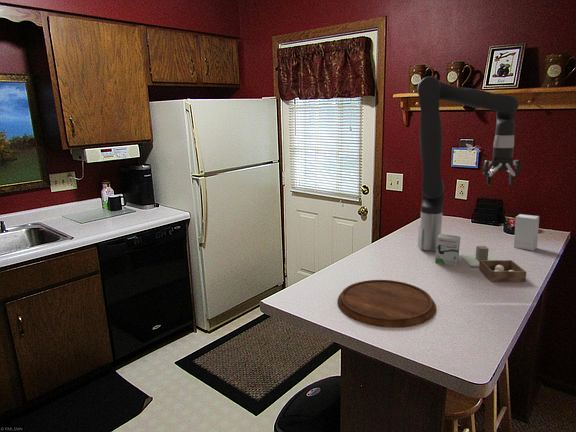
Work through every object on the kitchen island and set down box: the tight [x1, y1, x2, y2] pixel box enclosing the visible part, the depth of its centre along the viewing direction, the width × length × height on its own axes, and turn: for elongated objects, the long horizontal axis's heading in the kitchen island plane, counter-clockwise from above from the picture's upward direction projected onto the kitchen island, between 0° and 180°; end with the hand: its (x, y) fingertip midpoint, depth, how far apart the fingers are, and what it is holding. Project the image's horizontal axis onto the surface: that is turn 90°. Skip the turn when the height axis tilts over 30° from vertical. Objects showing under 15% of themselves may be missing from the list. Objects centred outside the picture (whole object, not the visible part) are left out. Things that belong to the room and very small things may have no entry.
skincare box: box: [513, 213, 540, 251], centre depth 186 cm, size 8×6×15 cm
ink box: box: [434, 233, 461, 267], centre depth 170 cm, size 9×5×12 cm, turn 62°
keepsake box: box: [478, 259, 527, 283], centre depth 156 cm, size 12×12×4 cm
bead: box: [495, 265, 504, 271], centre depth 159 cm, size 3×3×3 cm
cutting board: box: [337, 279, 437, 329], centre depth 139 cm, size 32×32×3 cm
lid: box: [460, 245, 497, 268], centre depth 170 cm, size 12×12×6 cm
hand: (499, 184), depth 176 cm, fingers open, 8 cm apart
